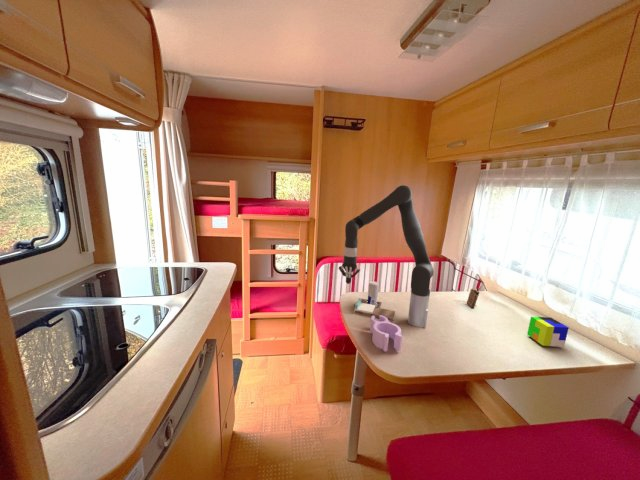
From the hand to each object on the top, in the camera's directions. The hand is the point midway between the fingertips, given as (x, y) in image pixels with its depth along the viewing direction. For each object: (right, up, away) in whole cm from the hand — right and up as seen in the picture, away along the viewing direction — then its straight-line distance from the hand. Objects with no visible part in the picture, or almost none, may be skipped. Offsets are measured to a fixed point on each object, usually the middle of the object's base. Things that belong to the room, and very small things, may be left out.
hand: (348, 283), depth 154 cm
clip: (+14, -22, -29) cm, 39 cm away
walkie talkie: (+78, -17, +13) cm, 80 cm away
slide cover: (+10, -14, -1) cm, 17 cm away
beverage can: (+15, -15, +6) cm, 22 cm away
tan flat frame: (+16, -16, +1) cm, 23 cm away
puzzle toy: (+95, -25, -24) cm, 101 cm away
